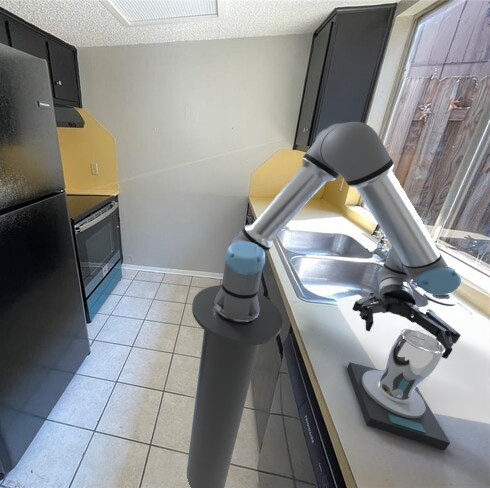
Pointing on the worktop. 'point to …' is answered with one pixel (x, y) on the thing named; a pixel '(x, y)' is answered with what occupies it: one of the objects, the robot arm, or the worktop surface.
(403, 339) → the beer glass
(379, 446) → the worktop surface
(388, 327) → the worktop surface
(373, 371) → the scale
